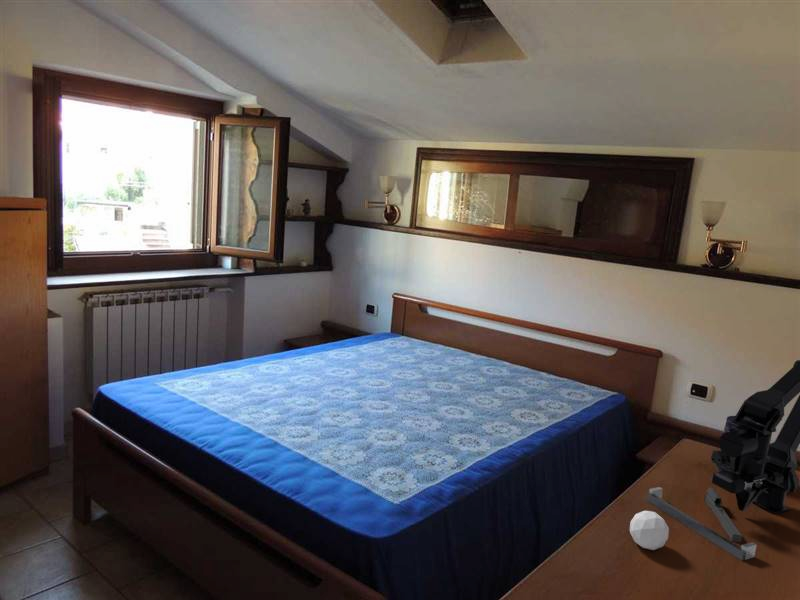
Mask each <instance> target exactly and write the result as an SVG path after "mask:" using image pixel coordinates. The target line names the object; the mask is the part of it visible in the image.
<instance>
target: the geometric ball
mask: <svg viewBox="0 0 800 600" xmlns="http://www.w3.org/2000/svg"><path fill="white" fill-rule="evenodd" d="M629 523H630V524H629V532H630V535H631V537H632V539H633V541H634V542H635V543H636V544H637V545H639V546H640V547H641V548H643V549H647V550H652V551H655V550H657V549H660V548H663V547H664V546H665V544H666V542H667V540H668V539H669V534H670V532H669V531H670V528H669V526H668V524H667V522H666V521H665V519H664V518H663V517H662V516H660V515H659V514H658V513H657V512H656V511H651V510H643V511H640V512H637V513H635V514H634V516H633V518H632V519H631V520H630V522H629Z"/></svg>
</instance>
